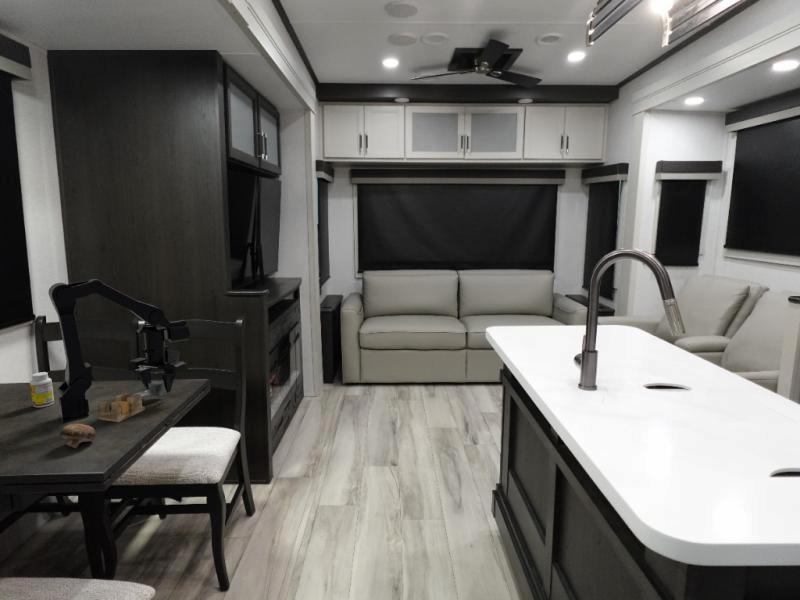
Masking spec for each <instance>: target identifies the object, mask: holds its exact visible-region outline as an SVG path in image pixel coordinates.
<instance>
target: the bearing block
mask: <svg viewBox="0 0 800 600" xmlns="http://www.w3.org/2000/svg"><path fill="white" fill-rule="evenodd" d="M132 395H133V396H132ZM132 395H131V393H130V392H124V393H121V394H119V395H116V396H115V397H114V398H115V402H116V401H125V402H129V412H127V413H124V414H121V405H120V403H114V404H111V403H110V401H105V400H103V401H101V402H99V408H100V415H99V416H98V419H99V420H101V421H109V422H115V423H120V422H122V421H124V420H126V419H128V418H130V417H132V416H135V415H137V414H139V413H141V412H143V411H145V410H146V408H145V407H146V406H143V401H142V399H143V398H141V394H137V393H135V395H134V394H132ZM130 396H131V397H130ZM111 405H112V409H111V410H110V406H111Z"/></svg>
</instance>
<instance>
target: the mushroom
mask: <svg viewBox="0 0 800 600" xmlns="http://www.w3.org/2000/svg"><path fill="white" fill-rule="evenodd" d="M59 435H60V437H61V438H63V439H65V440H67V442H66V446H69V447H71V448H73V449H77V448H78V447H79V445H80V444H81V443H83V442H84V443H87V442H92V441H94V440H95V439H96V438H97V433H96V430H95V429H94V427H92V426H90V425H88V424H82V423H70V424H67V425H65V426H64V427H63V428H62V429H61V431H60V432H59Z"/></svg>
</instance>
